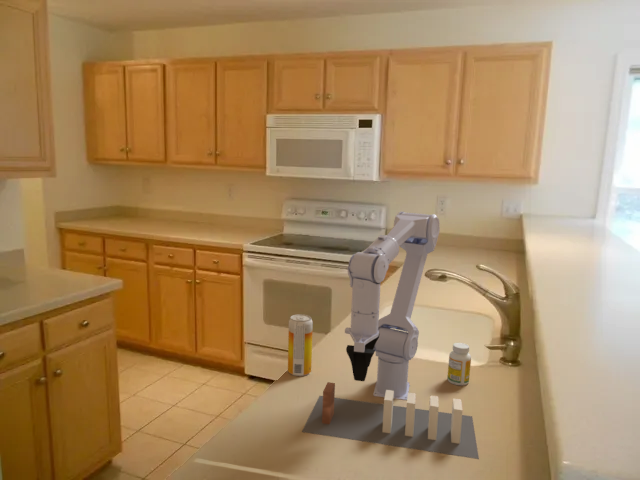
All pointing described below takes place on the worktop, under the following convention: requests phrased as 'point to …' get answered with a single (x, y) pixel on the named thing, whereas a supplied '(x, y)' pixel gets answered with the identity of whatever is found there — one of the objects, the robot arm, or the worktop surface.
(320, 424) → the charcoal mat
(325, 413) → the terracotta domino
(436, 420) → the ivory domino
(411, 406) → the ivory domino
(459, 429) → the ivory domino
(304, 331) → the beer can
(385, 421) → the ivory domino
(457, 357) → the supplement bottle
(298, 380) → the worktop surface
